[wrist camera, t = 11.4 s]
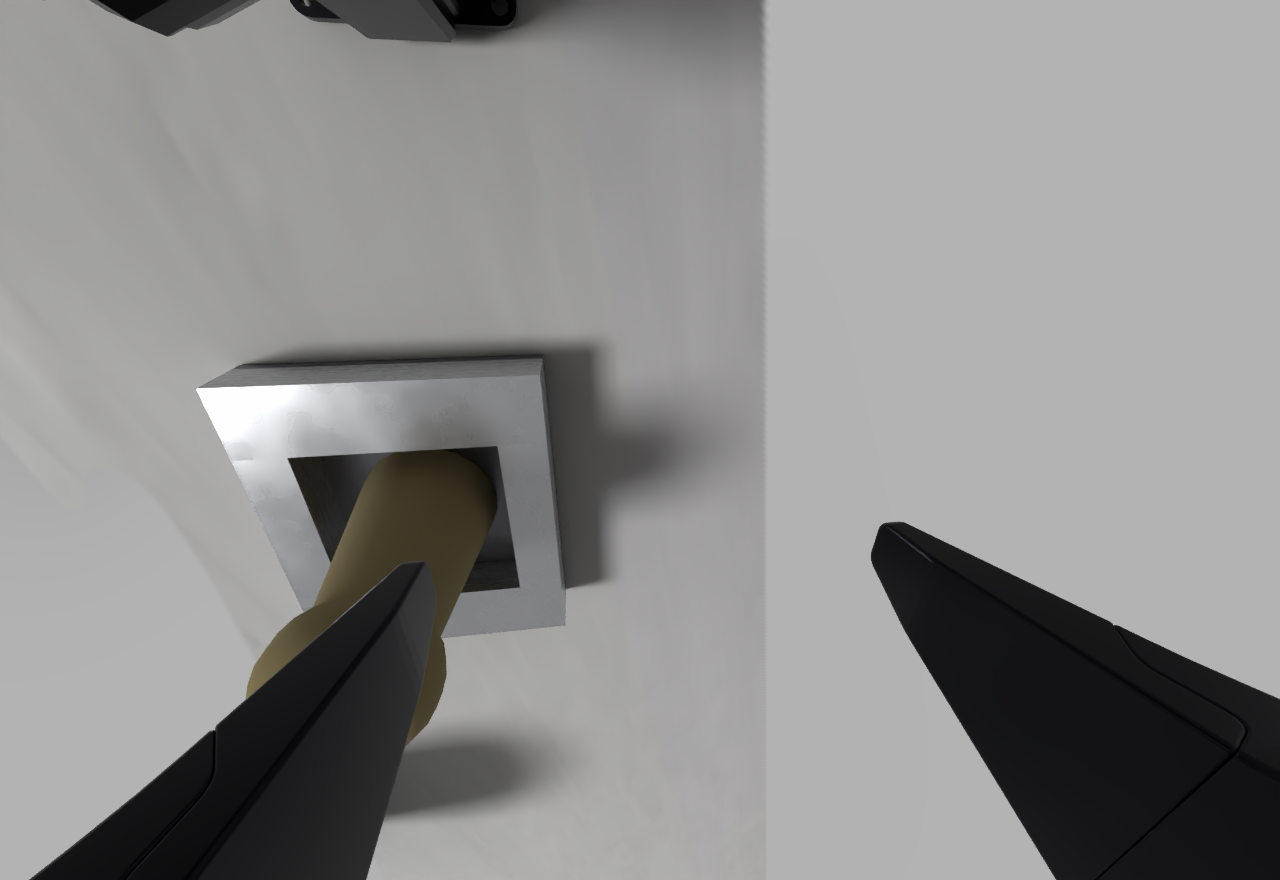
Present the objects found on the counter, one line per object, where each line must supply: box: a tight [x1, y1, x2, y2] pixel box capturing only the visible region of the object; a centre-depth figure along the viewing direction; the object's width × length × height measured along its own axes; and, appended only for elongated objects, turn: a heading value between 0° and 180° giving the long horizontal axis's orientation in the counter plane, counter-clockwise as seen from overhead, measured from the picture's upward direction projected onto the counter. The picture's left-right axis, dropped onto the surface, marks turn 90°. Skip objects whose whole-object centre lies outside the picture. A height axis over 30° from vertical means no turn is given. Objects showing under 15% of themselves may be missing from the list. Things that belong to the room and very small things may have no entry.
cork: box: [246, 449, 497, 746], centre depth 18 cm, size 6×6×11 cm
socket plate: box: [197, 355, 566, 638], centre depth 21 cm, size 14×12×3 cm
